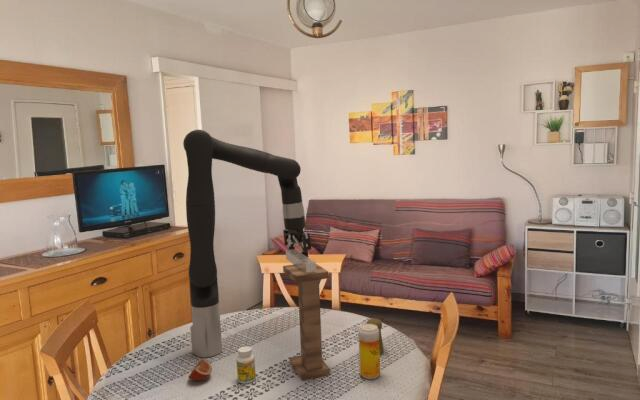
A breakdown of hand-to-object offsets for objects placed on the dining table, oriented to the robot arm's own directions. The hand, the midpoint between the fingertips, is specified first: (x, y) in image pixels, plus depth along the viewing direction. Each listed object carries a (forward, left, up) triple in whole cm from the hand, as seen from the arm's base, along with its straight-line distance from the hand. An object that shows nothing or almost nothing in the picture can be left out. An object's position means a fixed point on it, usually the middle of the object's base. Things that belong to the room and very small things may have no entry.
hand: (299, 259), depth 169 cm
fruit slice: (-19, -38, -29) cm, 51 cm away
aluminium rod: (+8, -20, +3) cm, 22 cm away
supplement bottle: (-5, -35, -29) cm, 45 cm away
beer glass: (+30, -23, -29) cm, 48 cm away
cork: (+28, -7, -29) cm, 41 cm away
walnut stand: (+11, -24, -29) cm, 39 cm away
